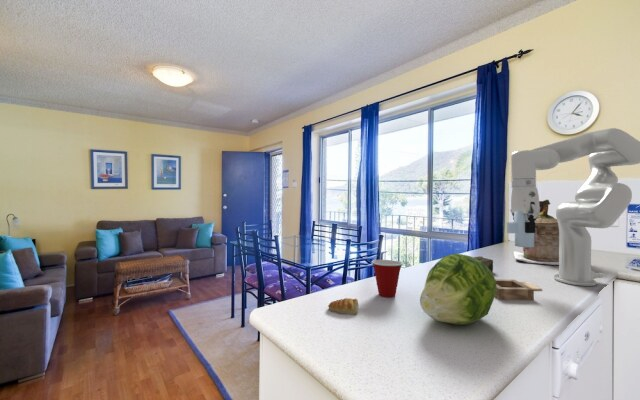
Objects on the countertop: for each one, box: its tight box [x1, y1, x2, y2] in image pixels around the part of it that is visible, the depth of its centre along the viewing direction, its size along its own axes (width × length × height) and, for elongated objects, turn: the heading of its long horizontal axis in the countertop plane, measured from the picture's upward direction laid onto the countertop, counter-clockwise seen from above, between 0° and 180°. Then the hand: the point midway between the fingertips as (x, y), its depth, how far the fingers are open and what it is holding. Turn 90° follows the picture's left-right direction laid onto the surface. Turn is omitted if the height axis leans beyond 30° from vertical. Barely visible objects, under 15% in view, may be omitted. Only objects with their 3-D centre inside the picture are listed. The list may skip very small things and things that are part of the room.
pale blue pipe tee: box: [506, 211, 534, 248], centre depth 108 cm, size 6×10×13 cm, turn 85°
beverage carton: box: [473, 255, 494, 273], centre depth 128 cm, size 8×19×7 cm, turn 111°
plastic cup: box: [371, 259, 403, 298], centre depth 101 cm, size 11×11×12 cm
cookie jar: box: [513, 199, 559, 266], centre depth 149 cm, size 25×25×32 cm
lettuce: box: [419, 253, 497, 325], centre depth 81 cm, size 19×23×18 cm
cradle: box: [494, 278, 535, 301], centre depth 101 cm, size 11×11×4 cm
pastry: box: [327, 297, 360, 316], centre depth 88 cm, size 9×7×4 cm
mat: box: [519, 281, 543, 291], centre depth 108 cm, size 8×8×1 cm
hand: (524, 231), depth 107 cm, fingers closed on pale blue pipe tee, 6 cm apart
